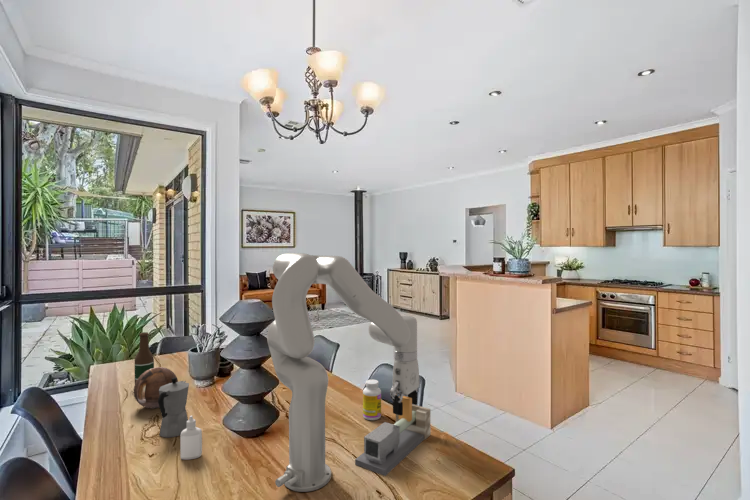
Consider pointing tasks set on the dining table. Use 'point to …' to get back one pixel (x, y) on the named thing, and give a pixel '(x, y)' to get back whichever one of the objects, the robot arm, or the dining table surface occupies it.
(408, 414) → the orange upright peg
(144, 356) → the beer bottle
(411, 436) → the base board
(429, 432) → the socket block
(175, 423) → the coffeepot
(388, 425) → the sleeve
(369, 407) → the supplement bottle
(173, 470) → the dining table surface
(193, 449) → the eye dropper bottle
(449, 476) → the dining table surface
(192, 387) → the dining table surface
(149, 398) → the wooden sphere
